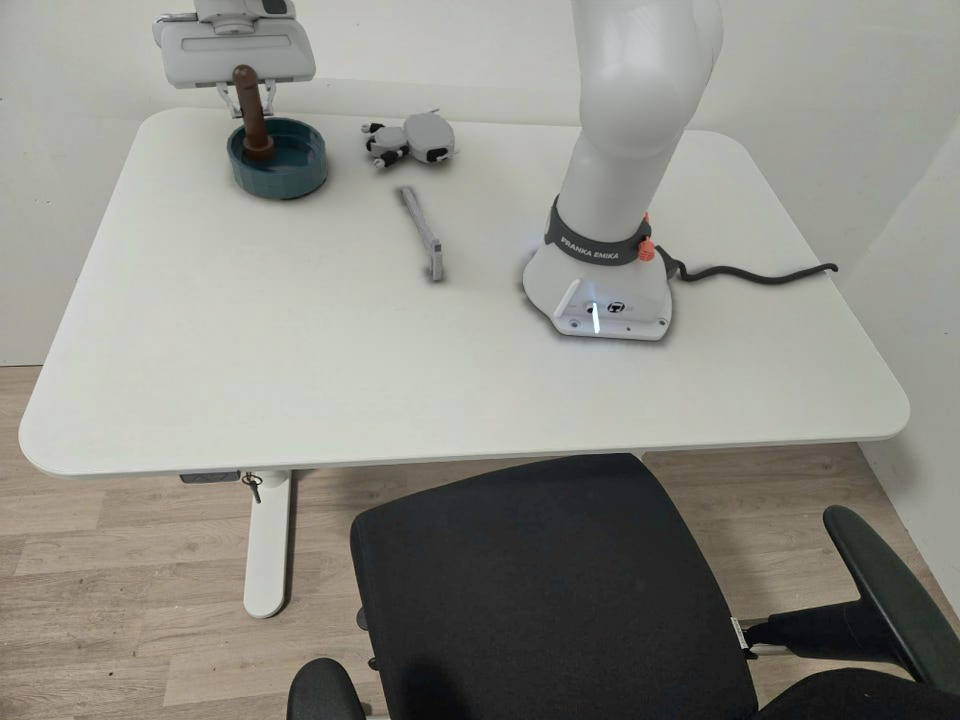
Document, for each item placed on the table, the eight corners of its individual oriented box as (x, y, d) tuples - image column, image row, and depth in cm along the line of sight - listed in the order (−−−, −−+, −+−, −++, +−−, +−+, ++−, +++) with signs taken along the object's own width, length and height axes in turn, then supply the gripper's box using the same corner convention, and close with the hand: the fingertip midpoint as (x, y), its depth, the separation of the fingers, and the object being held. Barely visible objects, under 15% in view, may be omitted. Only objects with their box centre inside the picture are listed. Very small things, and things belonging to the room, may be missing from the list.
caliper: (441, 282, 83) (444, 250, 78) (433, 283, 82) (437, 251, 77) (407, 190, 93) (408, 157, 88) (400, 190, 93) (401, 157, 88)
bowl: (338, 155, 96) (336, 128, 92) (309, 210, 87) (306, 183, 83) (255, 137, 95) (249, 109, 91) (218, 189, 87) (210, 161, 83)
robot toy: (376, 184, 94) (462, 169, 98) (373, 160, 90) (464, 146, 94) (359, 138, 100) (442, 126, 104) (356, 115, 97) (442, 103, 100)
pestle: (279, 147, 90) (264, 61, 79) (268, 164, 88) (252, 77, 77) (252, 141, 90) (233, 54, 79) (240, 158, 88) (219, 70, 77)
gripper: (143, 4, 74) (171, 117, 77) (304, 1, 80) (325, 105, 83) (152, 23, 80) (178, 127, 83) (302, 18, 86) (321, 116, 89)
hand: (253, 116), depth 83 cm, fingers closed on pestle, 3 cm apart
